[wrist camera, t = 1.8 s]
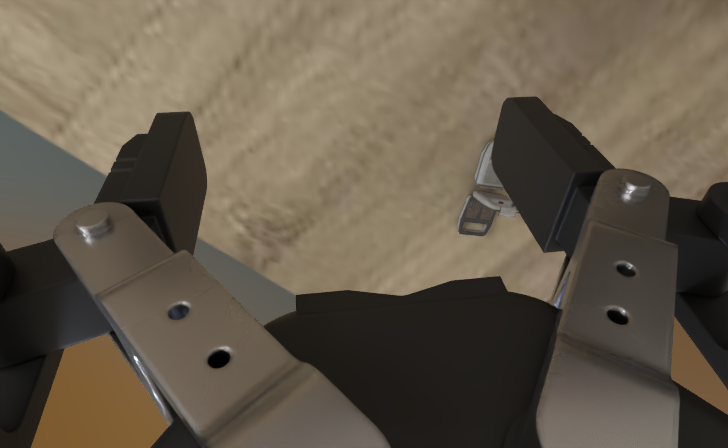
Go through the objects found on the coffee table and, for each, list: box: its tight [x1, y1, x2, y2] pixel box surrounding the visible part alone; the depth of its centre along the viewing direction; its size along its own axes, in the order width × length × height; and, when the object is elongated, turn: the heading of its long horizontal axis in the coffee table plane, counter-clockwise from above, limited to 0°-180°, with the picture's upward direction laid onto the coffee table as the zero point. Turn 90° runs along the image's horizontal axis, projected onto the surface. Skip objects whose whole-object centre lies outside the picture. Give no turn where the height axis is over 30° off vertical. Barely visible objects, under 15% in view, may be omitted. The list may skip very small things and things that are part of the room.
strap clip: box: [458, 140, 519, 236], centre depth 37 cm, size 8×3×4 cm, turn 167°
